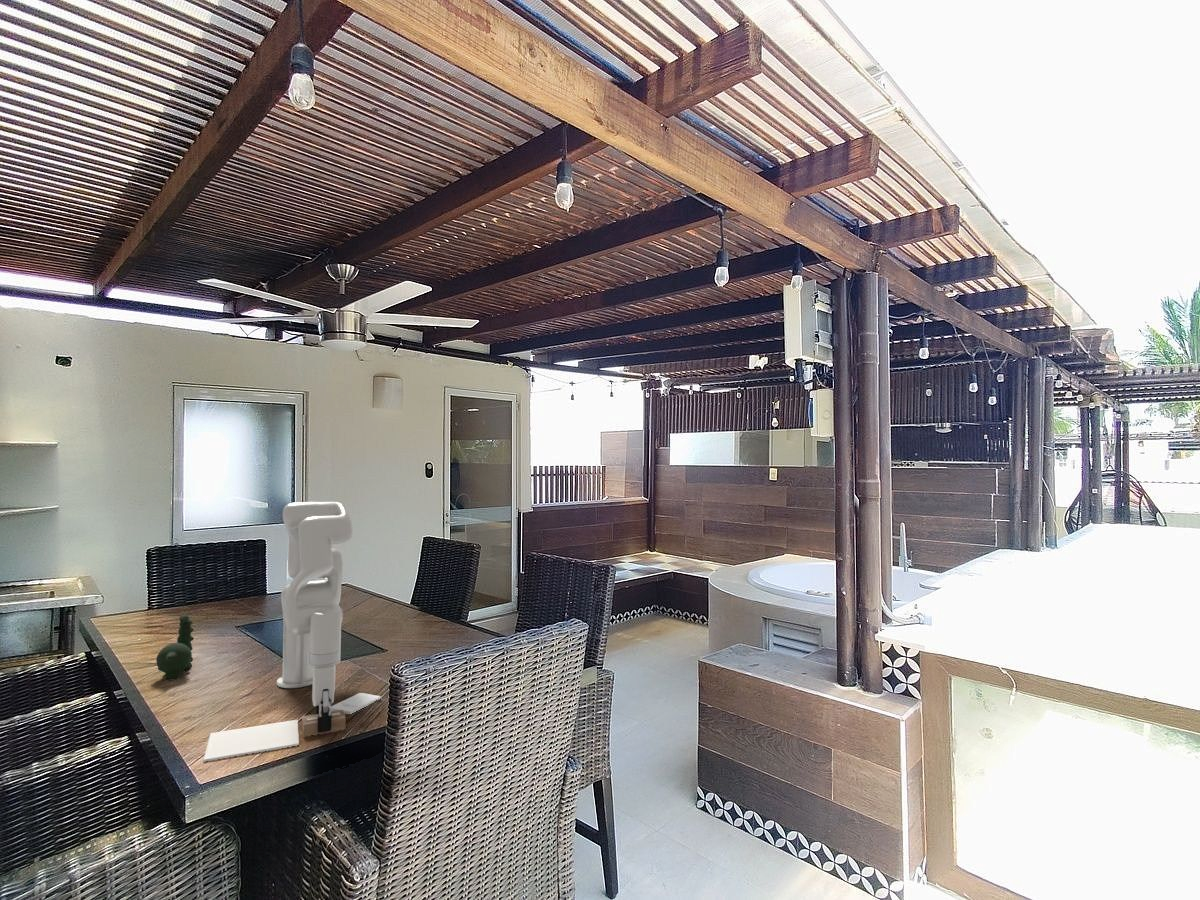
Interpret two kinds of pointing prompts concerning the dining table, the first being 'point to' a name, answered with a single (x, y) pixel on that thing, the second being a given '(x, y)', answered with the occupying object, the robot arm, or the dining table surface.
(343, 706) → the external hard drive
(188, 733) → the dining table surface
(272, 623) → the dining table surface
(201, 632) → the dining table surface
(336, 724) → the slotted tan block
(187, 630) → the toy figurine
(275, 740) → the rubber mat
